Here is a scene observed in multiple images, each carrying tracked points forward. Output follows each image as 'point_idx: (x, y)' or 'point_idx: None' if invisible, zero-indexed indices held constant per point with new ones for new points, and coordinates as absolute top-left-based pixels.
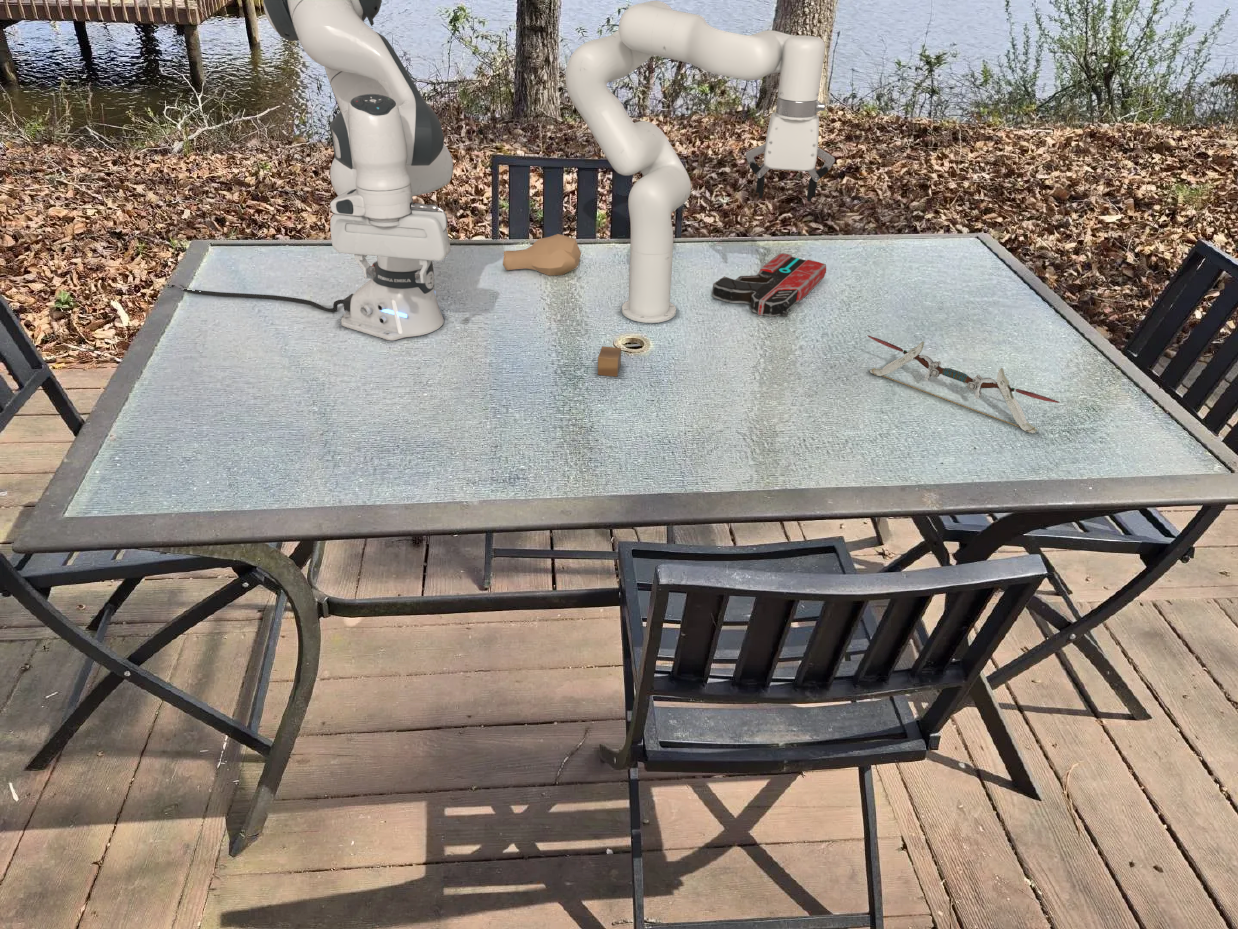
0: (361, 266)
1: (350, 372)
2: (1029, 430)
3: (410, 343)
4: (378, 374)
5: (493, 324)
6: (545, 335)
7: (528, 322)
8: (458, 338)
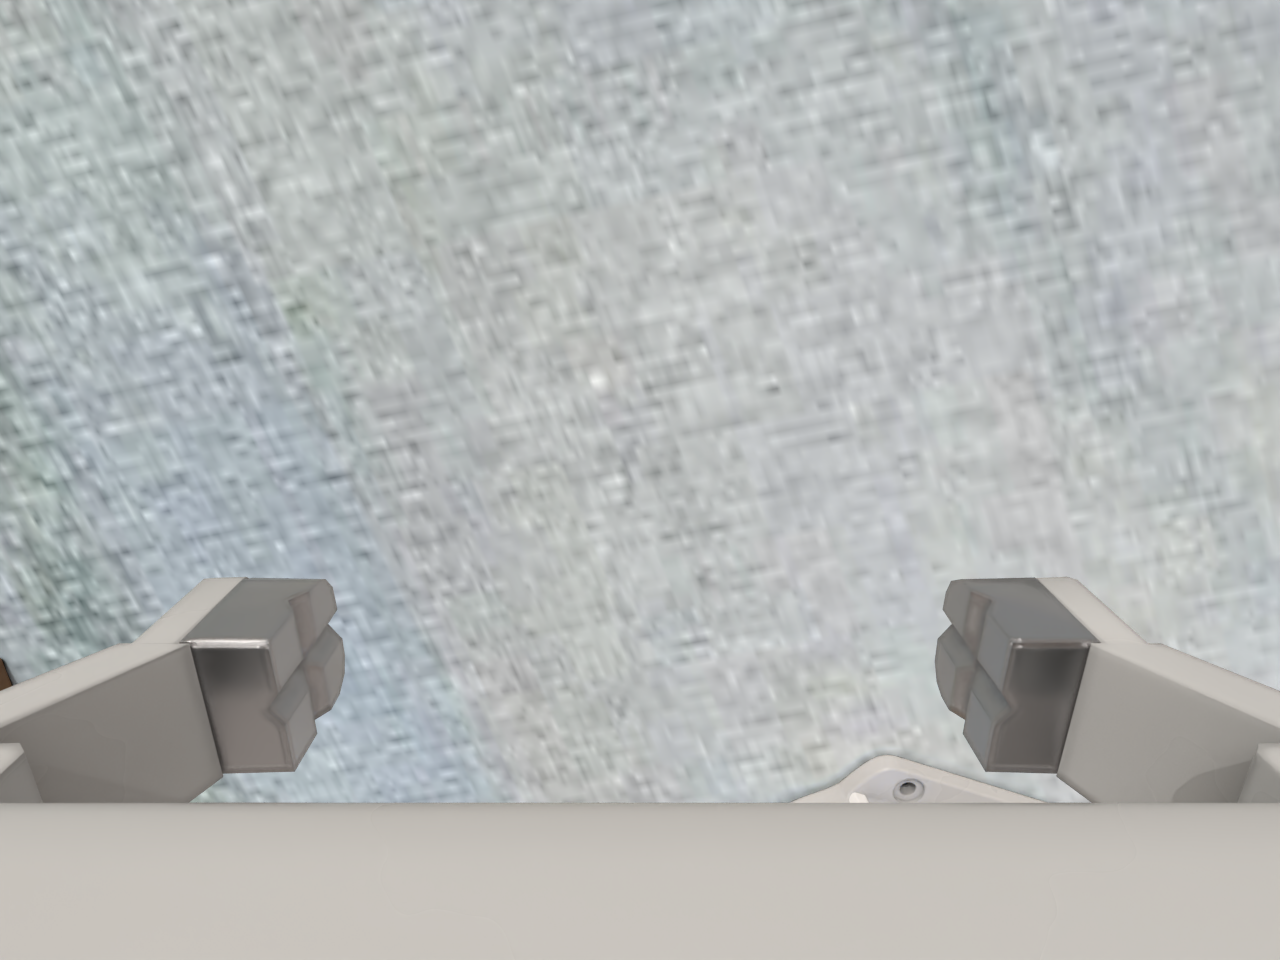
0: (1198, 669)
1: (975, 496)
2: None
3: (802, 750)
4: (852, 502)
5: None
6: None
7: None
8: None
